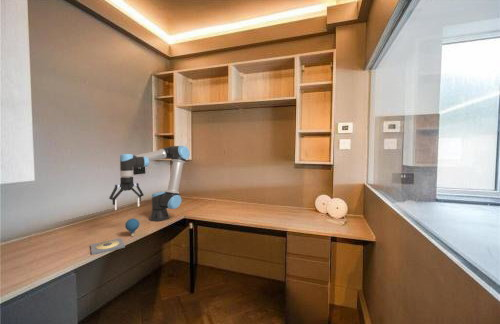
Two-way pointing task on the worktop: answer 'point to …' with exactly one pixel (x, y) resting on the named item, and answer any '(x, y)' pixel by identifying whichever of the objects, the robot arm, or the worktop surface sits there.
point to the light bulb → (132, 225)
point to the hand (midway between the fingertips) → (127, 207)
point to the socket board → (107, 246)
